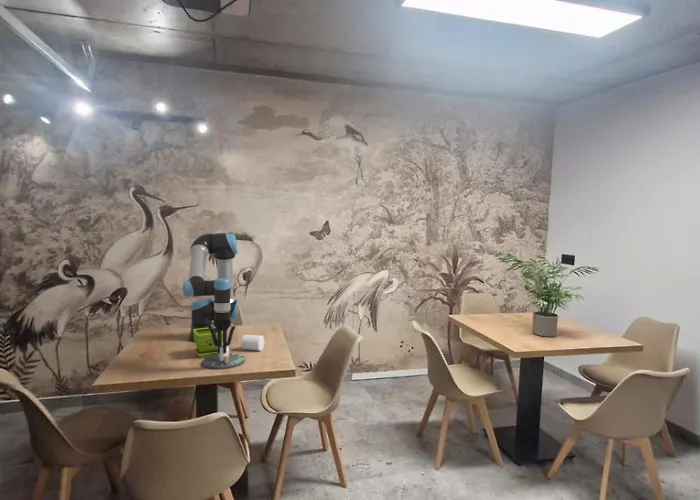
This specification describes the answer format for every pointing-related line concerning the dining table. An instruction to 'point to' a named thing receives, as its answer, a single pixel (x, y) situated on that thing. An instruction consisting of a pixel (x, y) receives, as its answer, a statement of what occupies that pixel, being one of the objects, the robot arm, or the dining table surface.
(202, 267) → the robot arm
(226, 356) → the white lumpy piece
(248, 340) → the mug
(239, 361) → the dial
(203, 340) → the flower pot
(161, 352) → the dining table surface
